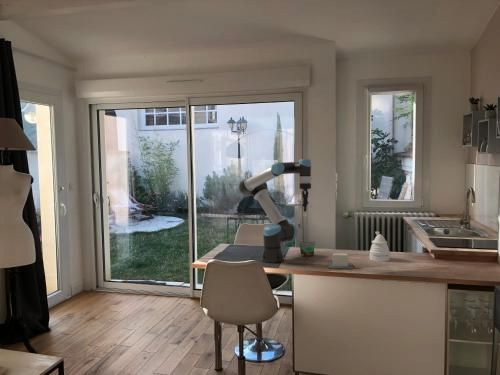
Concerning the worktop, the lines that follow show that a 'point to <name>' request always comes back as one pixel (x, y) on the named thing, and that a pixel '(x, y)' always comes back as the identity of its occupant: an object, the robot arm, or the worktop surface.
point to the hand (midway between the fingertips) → (305, 215)
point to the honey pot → (379, 249)
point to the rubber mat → (330, 266)
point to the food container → (307, 249)
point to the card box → (340, 259)
